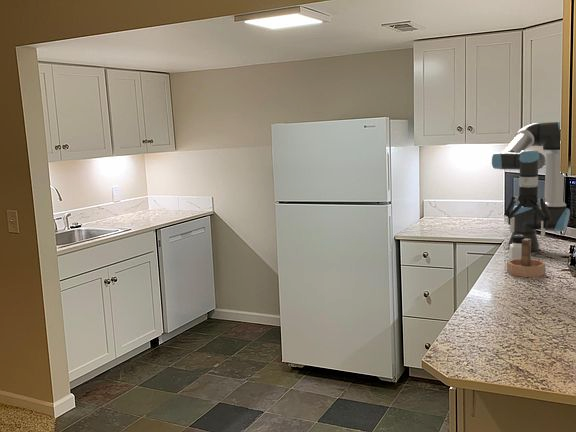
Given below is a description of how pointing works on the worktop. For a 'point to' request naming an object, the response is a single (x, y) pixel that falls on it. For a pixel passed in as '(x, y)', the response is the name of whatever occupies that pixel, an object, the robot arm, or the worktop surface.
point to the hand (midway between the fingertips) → (527, 234)
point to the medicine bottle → (516, 247)
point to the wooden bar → (526, 252)
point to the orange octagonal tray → (526, 268)
